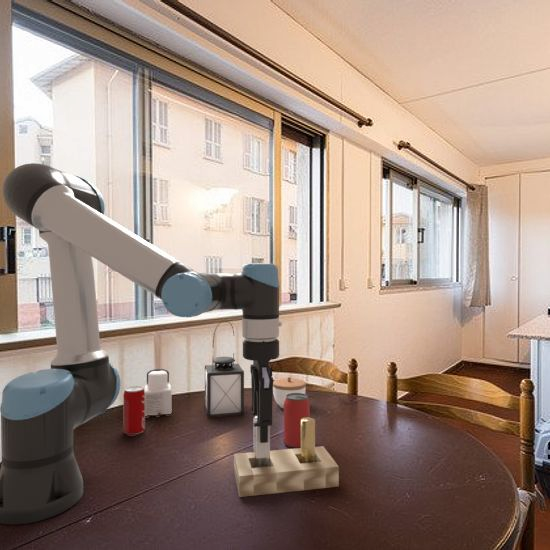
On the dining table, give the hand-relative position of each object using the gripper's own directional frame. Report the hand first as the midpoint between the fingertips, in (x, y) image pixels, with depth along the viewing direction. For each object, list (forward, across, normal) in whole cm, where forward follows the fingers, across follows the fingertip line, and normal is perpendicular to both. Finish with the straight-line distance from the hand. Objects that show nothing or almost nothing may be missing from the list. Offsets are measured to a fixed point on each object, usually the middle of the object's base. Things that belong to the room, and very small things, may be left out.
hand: (261, 452), depth 85 cm
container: (+6, +48, +24) cm, 54 cm away
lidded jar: (+6, +46, -17) cm, 49 cm away
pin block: (+6, 0, -5) cm, 8 cm away
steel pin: (+5, 0, 0) cm, 5 cm away
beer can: (+6, +17, -12) cm, 22 cm away
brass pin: (+6, 0, -10) cm, 11 cm away
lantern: (+6, +46, +4) cm, 47 cm away
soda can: (+6, +33, +29) cm, 45 cm away
